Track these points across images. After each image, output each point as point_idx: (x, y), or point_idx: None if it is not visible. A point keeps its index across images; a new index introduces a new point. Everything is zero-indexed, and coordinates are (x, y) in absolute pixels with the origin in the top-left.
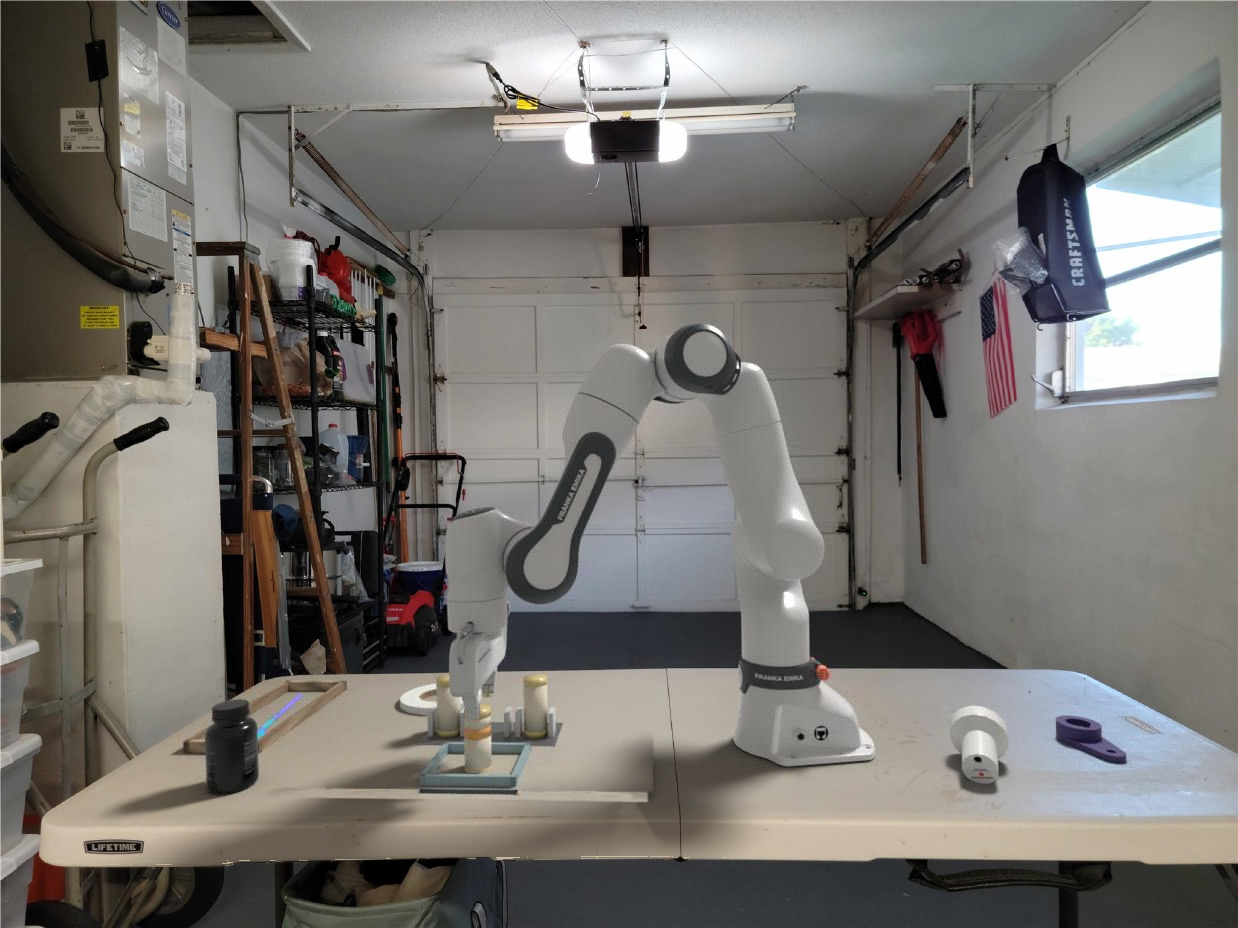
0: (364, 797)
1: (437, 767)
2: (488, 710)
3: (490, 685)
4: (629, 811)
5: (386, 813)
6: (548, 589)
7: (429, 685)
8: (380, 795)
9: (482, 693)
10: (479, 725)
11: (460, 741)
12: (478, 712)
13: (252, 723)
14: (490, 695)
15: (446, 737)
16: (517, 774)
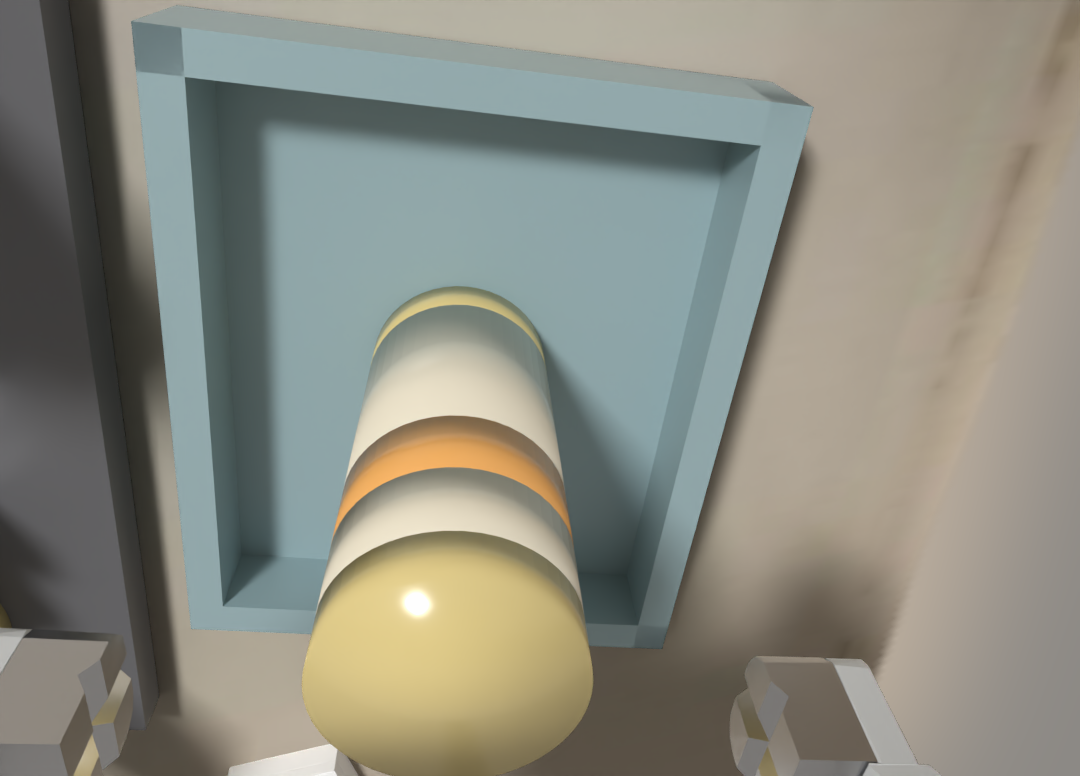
0: (642, 751)
1: None
2: (511, 587)
3: (41, 770)
4: None
5: (806, 652)
6: None
7: None
8: (635, 709)
9: (121, 750)
10: (573, 561)
11: (58, 538)
12: (856, 698)
13: None
14: (114, 657)
15: (8, 619)
16: (749, 97)
